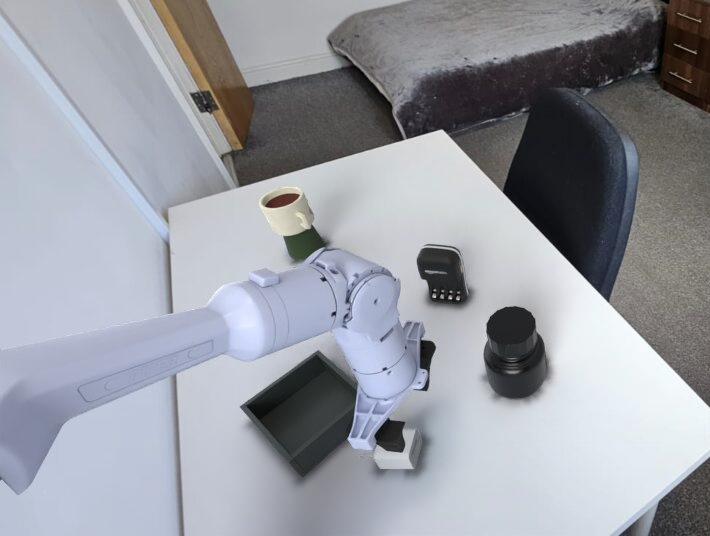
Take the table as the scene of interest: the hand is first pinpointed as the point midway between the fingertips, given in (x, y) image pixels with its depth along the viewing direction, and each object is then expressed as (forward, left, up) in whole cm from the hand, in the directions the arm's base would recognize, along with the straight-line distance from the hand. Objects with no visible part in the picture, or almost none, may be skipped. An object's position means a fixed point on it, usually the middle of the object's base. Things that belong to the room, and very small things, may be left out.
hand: (408, 417), depth 56 cm
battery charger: (+20, +18, -10) cm, 29 cm away
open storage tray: (-6, +16, -10) cm, 20 cm away
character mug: (+12, +49, -10) cm, 52 cm away
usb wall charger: (-3, +3, -10) cm, 11 cm away
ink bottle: (+16, -2, -10) cm, 19 cm away
